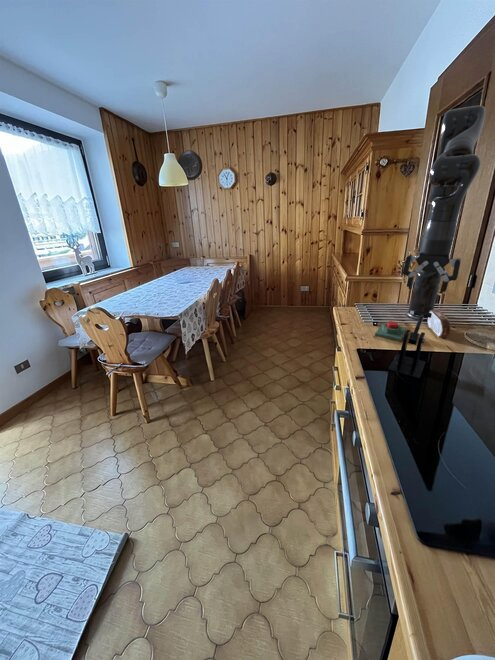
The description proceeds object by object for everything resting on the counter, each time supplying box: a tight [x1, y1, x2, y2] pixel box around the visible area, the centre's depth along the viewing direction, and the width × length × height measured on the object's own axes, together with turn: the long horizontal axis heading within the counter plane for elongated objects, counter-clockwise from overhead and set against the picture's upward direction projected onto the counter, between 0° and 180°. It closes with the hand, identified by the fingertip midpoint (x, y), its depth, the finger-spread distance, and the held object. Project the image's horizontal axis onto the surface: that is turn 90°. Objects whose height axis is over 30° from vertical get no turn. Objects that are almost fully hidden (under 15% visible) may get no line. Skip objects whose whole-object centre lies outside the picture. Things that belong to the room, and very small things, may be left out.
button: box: [386, 320, 399, 329], centre depth 111 cm, size 4×4×2 cm
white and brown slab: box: [426, 308, 451, 339], centre depth 111 cm, size 15×3×8 cm, turn 168°
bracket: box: [387, 328, 427, 379], centre depth 90 cm, size 11×9×13 cm
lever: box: [407, 310, 432, 346], centre depth 90 cm, size 13×5×2 cm, turn 141°
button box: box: [374, 322, 408, 343], centre depth 112 cm, size 11×9×4 cm
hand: (425, 290), depth 88 cm, fingers open, 8 cm apart
